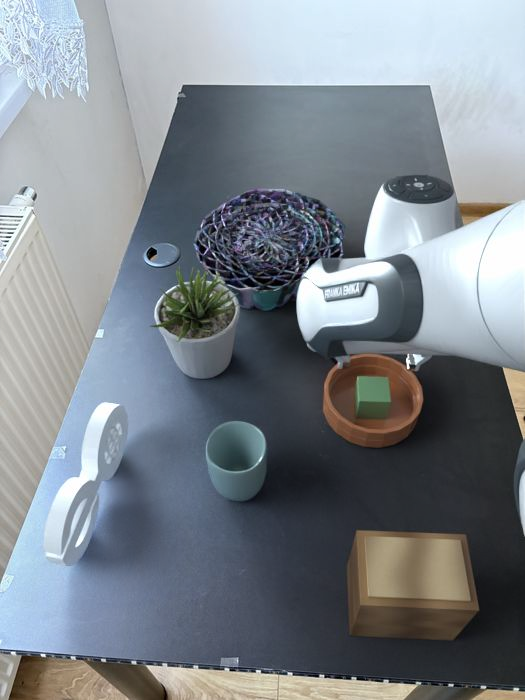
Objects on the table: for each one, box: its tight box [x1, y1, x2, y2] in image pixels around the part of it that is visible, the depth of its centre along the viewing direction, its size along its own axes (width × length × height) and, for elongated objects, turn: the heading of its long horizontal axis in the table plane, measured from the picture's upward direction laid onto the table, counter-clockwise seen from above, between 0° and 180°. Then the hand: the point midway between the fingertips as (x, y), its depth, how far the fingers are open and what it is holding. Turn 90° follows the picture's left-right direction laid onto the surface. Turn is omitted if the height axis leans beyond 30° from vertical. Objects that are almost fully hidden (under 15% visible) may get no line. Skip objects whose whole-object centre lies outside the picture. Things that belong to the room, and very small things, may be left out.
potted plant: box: [149, 265, 241, 380], centre depth 89 cm, size 13×14×20 cm
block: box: [354, 376, 391, 419], centre depth 88 cm, size 4×4×4 cm
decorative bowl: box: [192, 188, 346, 312], centre depth 107 cm, size 26×28×10 cm
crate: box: [346, 529, 480, 641], centre depth 68 cm, size 12×8×12 cm, turn 87°
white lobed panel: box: [43, 402, 129, 567], centre depth 78 cm, size 22×2×10 cm, turn 169°
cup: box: [205, 420, 268, 502], centre depth 79 cm, size 8×8×10 cm
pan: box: [322, 353, 424, 449], centre depth 89 cm, size 14×14×4 cm
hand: (377, 366), depth 83 cm, fingers open, 8 cm apart
